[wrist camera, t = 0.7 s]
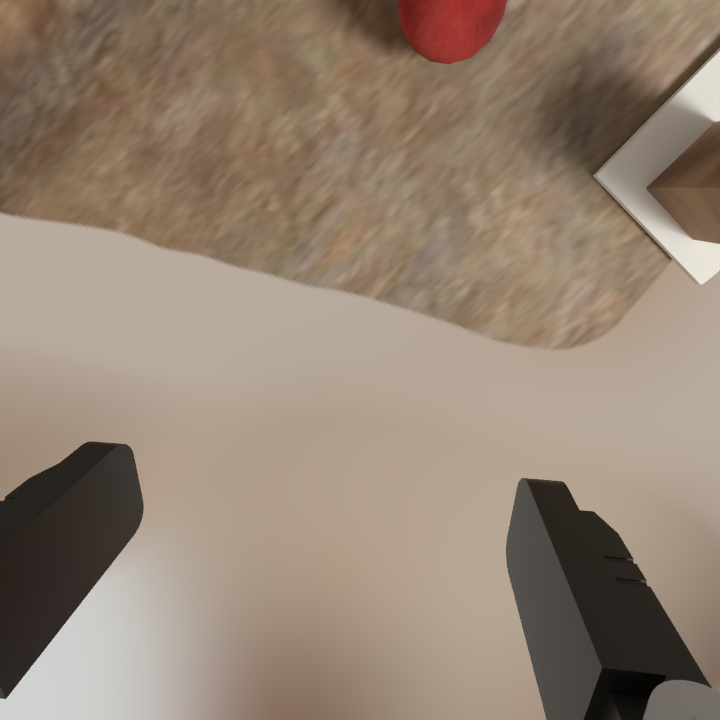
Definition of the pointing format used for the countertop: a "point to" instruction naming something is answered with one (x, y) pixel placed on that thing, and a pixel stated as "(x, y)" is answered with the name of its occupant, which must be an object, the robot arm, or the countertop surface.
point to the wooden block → (694, 187)
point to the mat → (656, 153)
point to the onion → (449, 26)
